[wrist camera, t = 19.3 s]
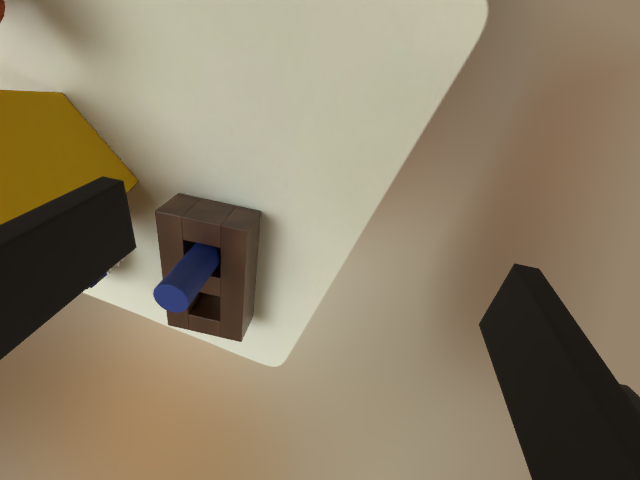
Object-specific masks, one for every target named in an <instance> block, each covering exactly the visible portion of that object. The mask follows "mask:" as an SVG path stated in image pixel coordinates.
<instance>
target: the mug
mask: <svg viewBox="0 0 640 480" xmlns="http://www.w3.org/2000/svg"><path fill="white" fill-rule="evenodd" d="M4 12H5V4H4V0H0V22H1V21H2V19H3V17H4Z"/></svg>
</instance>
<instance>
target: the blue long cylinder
mask: <svg viewBox="0 0 640 480" xmlns="http://www.w3.org/2000/svg"><path fill="white" fill-rule="evenodd" d="M220 262H221V248H219V247H214V246H210V245H205V244H201V243H195V244H194V246H193V247H192V248H191V249H190V250H189V251H188V252H187V253H186V254H185V256H184V257H183V258H182V259H181V260H180V261H179V262H178V263H177V264H176V266H175V267H174V268H173V269H172V270H171V271H170V272H169V273H168V274H167V275H166V277H165V278H164V279H163V280H162V281H161V282H160V283H159V284H158V285H157V287H156V288H155V289H154V293H153V294H154V298H155V300H156V302H157V303H158V304H159V305H160V306H161V307H162V308H164V309H166V310H168V311H171V312H176V313H179V312H183V311H185V310H186V309H187V308H188V307H189V305H190V304H191V302H192V301H193V300H194V298H195V297H196V295H197V294H198V293H199V291H200V290H201V288H202V287H203V286H204V284H205V283H206V281H207V280H208V278H209V277H210V276H211V274H212V273H213V271H214V270H215V269H216V267H217V266H218V264H219V263H220Z"/></svg>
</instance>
